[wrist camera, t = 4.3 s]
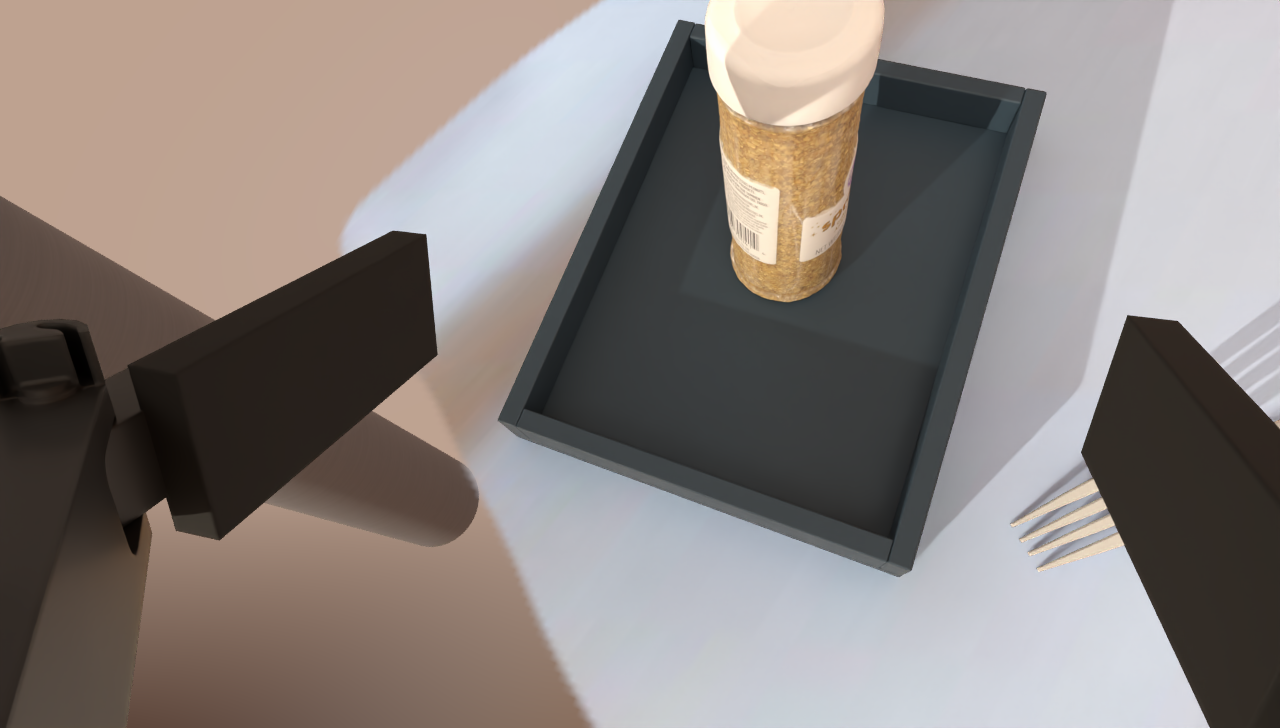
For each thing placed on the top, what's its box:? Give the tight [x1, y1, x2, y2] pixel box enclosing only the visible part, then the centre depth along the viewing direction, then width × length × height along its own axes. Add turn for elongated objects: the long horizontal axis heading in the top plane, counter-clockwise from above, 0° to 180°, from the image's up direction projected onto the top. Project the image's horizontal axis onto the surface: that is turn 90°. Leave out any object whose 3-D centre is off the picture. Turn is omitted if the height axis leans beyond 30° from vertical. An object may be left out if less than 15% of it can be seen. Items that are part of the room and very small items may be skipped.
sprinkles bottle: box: [705, 0, 885, 302], centre depth 26 cm, size 5×5×14 cm
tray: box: [498, 20, 1046, 577], centre depth 31 cm, size 16×20×2 cm
